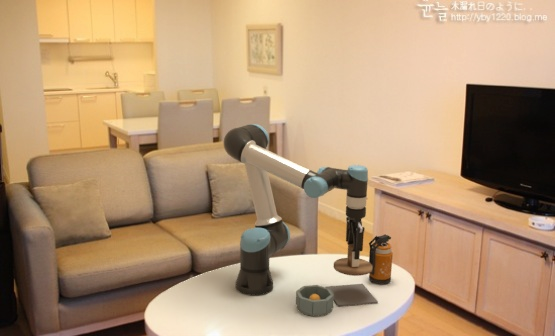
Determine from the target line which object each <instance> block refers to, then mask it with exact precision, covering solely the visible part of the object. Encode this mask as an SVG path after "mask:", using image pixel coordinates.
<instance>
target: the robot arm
mask: <svg viewBox="0 0 555 336" xmlns="http://www.w3.org/2000/svg"><path fill="white" fill-rule="evenodd" d="M268 133H269V132H268V131H267V130H266V129H265V128H264V127H263V126H262V125H260V124H258V123H256V124H255V123H252V124H246V125H242V126H240V127H234V128H232V129H230V130H229V131H228V132H226V134H225V135H224V137H223V148H224V150H225V152H226V153H227V155H228V156H230V158H232V159H234V160H236V161H237V162H240V163H242V164H244V167H245V170H246V171H245V172H246V177H247V180H248V185H249V189H250V195H251V197H252V202H253V207H254V212H255V216H256V221H255V223H254V227H253V228H248V229H246V230H245V231H242V233H241V235H240V241H239V246H240V247H239V248H240V249H239V250H240V251H239V254H240V260H239V262H240V264H239V265H240V267H239V271H238V274H237V278H236V281H235V289H236V290H237V291H238V292H239V293H240V294H244V295H247V296H262V295H267V294H268V293H270V292H272V291H273V289H274V280H273V276H272V274H271V271H270V257H273V256H274V255H275V254H276V253H278V252H280V251H281V250H284V248H285V247H286V246H287V245H288V243H289V242H290V240H291V232H290V228H289V227H288V225H287V224H285V222H284V221H283V218H282V217H281V216H279V214H278V212H277V208H276V203H275V200H274V198H275V197H274V195H273V194H274V193H273V189H272V185H271V181H270V176H269V174H272V175H273V176H276V177H277V178H279V179H282V180H283V181H286V182H287V183H289V184H292V185H294V186H296V187H298V188H299V189H302V190H303V191H304V192H305V194H306V195H307V196H308V197H309V198H311V199H317V198H319V197H323V196H325V194H327V193H329V192H330V191H332V190H334V189H337V190H338V189H339V190H343V191H345V190H346V196H345V197H346V199H345V201H346V203H345V205H346V207H345V216H346V220H345V221H346V229H345V230H346V231H345V241H346V243H347V246H348V245H349V244H353V245H354V250H352V267H358V266H359V259H360V258H361V257H360V256H361V255H360V254H361V252H363V249H364V234H365V226H363V222H362V219H364V218H365V217H366V216H367V215H366V213H367V207H366V206H367V200H368V196H367V195H368V194H367V193H368V183H369V173H368V171H369V169H368V167H366V166H364V165H360V164H358V165H357V164H352V165H348V167H347V169H342V168H335V167H330V166H326V167H325V166H320V167H319V168H318V170H317V172H315V171H314V170H311V169H309V168H307V167H304V166H303V165H301V164H298V163H296V162H294V161H292V160H289V159H288V158H285V157H284V156H282V155H279V154H277V153H275V152H272V151H270V150H268V149H267V148H268V145H269V144H270V137H269V134H268ZM346 258H347V261H348V255H347V256H346Z"/></svg>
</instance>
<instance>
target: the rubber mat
mask: <svg viewBox="0 0 555 336" xmlns="http://www.w3.org/2000/svg"><path fill="white" fill-rule="evenodd" d="M325 287H326V288H329V289H330V290H331V291H332V293H333V294H334V304H336V306H337V307H338V308H341V307H342V308H344V307H353V306H367V305H374V304H378V302H379V301H378V300H377V299H376V298H375V296H374V295H373V294H372V293H371V291H370V290H369V289H368V288H367V286H365V285H364V284H363V283H355V284H353V283H352V284H343V285H342V284H340V285H330V286H329V285H328V286H325Z"/></svg>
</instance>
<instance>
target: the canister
mask: <svg viewBox="0 0 555 336" xmlns="http://www.w3.org/2000/svg"><path fill="white" fill-rule="evenodd" d="M391 239H392V237H391V236H390V235H388V234H383V235H378V236H377V235H375V236H374V237H373V238H372V239H371V241H370V242H368V245H369V246H368V247H369V257H368V258H369V259H368V262H370V263H371V264H372V271H371V272H370V273H369V274H368V279H369V281H371V282H374V283H376V284H382V285H383V284H388V283H389V282H391V280H392V279H391V278H392V268H393V267H392V266H393V255H394V254H393V251H392V250H393V249H392V245H391V244H390V243H389V240H391Z"/></svg>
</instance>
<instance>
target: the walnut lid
mask: <svg viewBox="0 0 555 336" xmlns="http://www.w3.org/2000/svg"><path fill="white" fill-rule="evenodd" d="M352 250H354V245H353V244H349V245H348V244H347V256H348V261H347V257H341V258H338V259H336V260H335V261H334V262H333V269H334V270H335V271H336V272H338V273H340V274H343V275H347V276H354V277H356V276H357V277H358V276H359V277H361V276H366V275H369V273H370V272H371V271H372V264H371V263H370V262H369V260H365V259H362V258H359V266H358V267H352Z"/></svg>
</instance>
